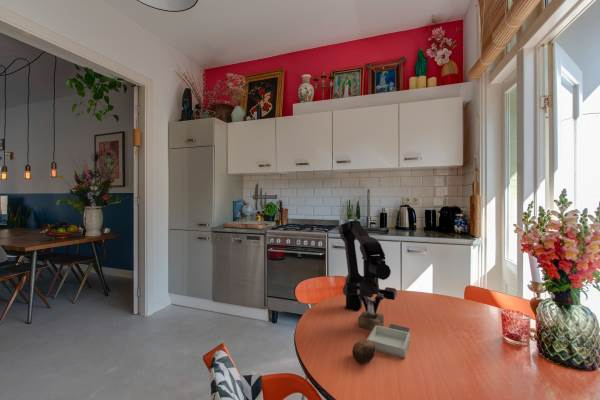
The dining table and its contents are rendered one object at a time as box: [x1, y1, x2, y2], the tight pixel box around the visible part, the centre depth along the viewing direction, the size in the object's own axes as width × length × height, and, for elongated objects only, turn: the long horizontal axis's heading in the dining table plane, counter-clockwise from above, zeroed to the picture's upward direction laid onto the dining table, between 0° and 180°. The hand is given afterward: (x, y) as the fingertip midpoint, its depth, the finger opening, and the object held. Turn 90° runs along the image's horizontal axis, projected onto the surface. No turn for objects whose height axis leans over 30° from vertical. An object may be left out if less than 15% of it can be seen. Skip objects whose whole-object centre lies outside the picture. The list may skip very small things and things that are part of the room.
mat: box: [388, 323, 410, 333], centre depth 103 cm, size 7×7×1 cm
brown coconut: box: [351, 339, 376, 365], centre depth 84 cm, size 8×8×6 cm
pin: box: [367, 297, 375, 319], centre depth 107 cm, size 3×3×9 cm
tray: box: [366, 325, 411, 359], centre depth 93 cm, size 12×12×3 cm
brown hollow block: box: [357, 309, 385, 332], centre depth 107 cm, size 8×8×4 cm
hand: (371, 311), depth 107 cm, fingers closed on pin, 3 cm apart
